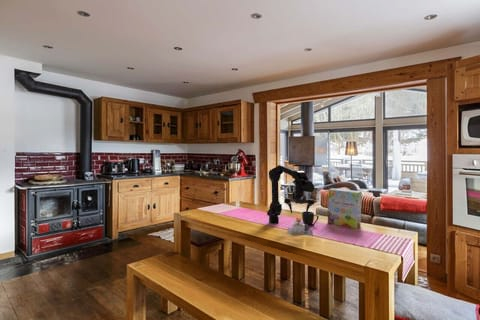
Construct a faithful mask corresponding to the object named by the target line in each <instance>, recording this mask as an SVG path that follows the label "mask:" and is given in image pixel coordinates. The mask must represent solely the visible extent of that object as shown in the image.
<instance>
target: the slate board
mask: <svg viewBox="0 0 480 320" xmlns="http://www.w3.org/2000/svg"><path fill="white" fill-rule="evenodd" d="M286 234H287V235H301V236H309V237H310V236H314V233H313V229H308V231H304V233H295V232H292V227H291V228H290V227H288V228H287V231H286Z"/></svg>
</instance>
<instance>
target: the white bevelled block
mask: <svg viewBox="0 0 480 320" xmlns="http://www.w3.org/2000/svg"><path fill="white" fill-rule="evenodd" d="M291 228H292V232H295V233H304V231H308V230H309V226H308V225H305V224H303V222H299V224H298V222H296V221H293V223H292V226H291Z"/></svg>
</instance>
